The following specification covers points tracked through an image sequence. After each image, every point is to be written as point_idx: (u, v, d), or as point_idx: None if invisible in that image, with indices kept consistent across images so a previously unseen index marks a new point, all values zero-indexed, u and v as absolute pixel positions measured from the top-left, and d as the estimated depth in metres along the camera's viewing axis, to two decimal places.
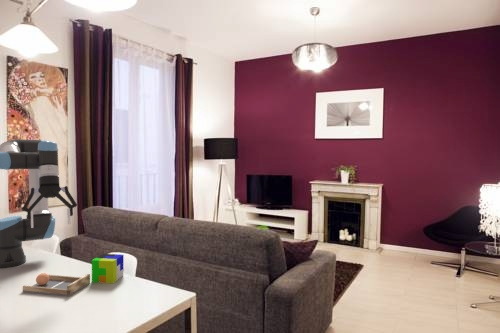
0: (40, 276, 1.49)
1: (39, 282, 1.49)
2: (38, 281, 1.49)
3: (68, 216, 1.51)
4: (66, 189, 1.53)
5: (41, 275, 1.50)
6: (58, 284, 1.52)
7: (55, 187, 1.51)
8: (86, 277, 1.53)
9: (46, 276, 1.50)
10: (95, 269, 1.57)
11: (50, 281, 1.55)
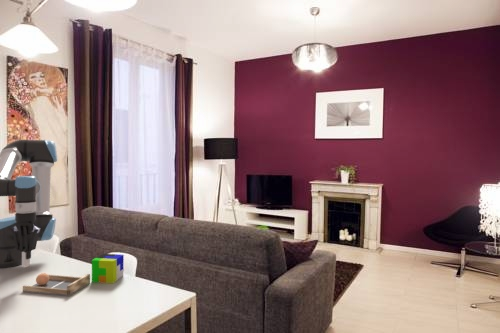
0: (40, 276, 1.49)
1: (39, 282, 1.49)
2: (38, 281, 1.49)
3: (23, 260, 1.50)
4: (34, 232, 1.49)
5: (41, 275, 1.50)
6: (58, 284, 1.52)
7: (29, 223, 1.50)
8: (86, 277, 1.53)
9: (46, 276, 1.50)
10: (95, 269, 1.57)
11: (50, 281, 1.55)
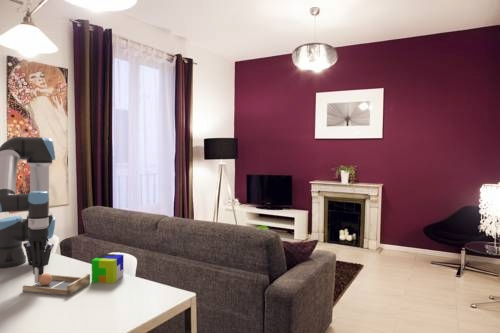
0: (45, 277, 1.49)
1: (41, 283, 1.48)
2: (41, 281, 1.48)
3: (36, 275, 1.50)
4: (47, 248, 1.48)
5: (46, 277, 1.49)
6: (58, 284, 1.52)
7: (42, 239, 1.49)
8: (86, 277, 1.53)
9: (50, 279, 1.50)
10: (95, 269, 1.57)
11: None
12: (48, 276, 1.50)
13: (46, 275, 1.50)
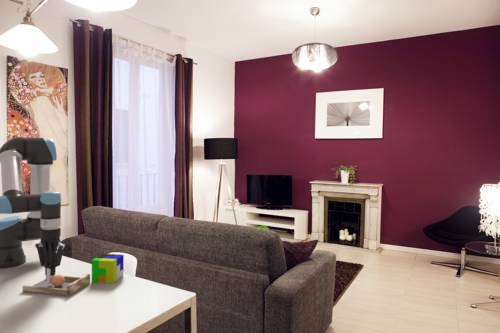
0: (57, 285, 1.48)
1: (52, 282, 1.48)
2: (53, 282, 1.47)
3: (48, 276, 1.49)
4: (59, 248, 1.48)
5: (58, 286, 1.49)
6: None
7: (54, 239, 1.48)
8: (86, 277, 1.53)
9: None
10: (95, 269, 1.57)
11: None
12: None
13: (60, 285, 1.49)
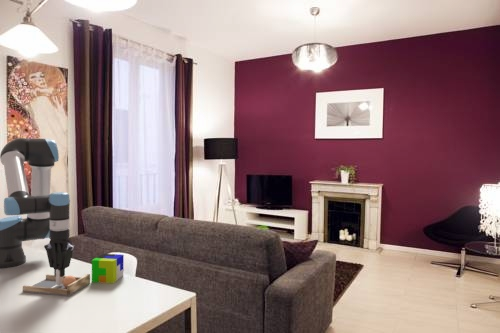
0: None
1: (66, 283, 1.46)
2: (65, 284, 1.46)
3: (57, 277, 1.48)
4: (68, 249, 1.47)
5: None
6: None
7: (63, 241, 1.48)
8: (86, 277, 1.53)
9: (65, 277, 1.49)
10: (95, 269, 1.57)
11: (50, 281, 1.55)
12: None
13: None
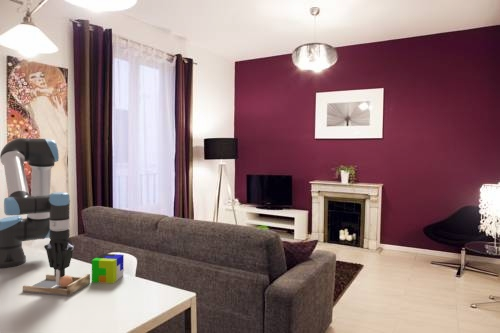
0: (60, 285, 1.48)
1: (62, 282, 1.47)
2: (62, 283, 1.47)
3: (57, 277, 1.48)
4: (68, 249, 1.47)
5: None
6: None
7: (63, 241, 1.48)
8: (86, 277, 1.53)
9: None
10: (95, 269, 1.57)
11: (50, 281, 1.55)
12: None
13: None
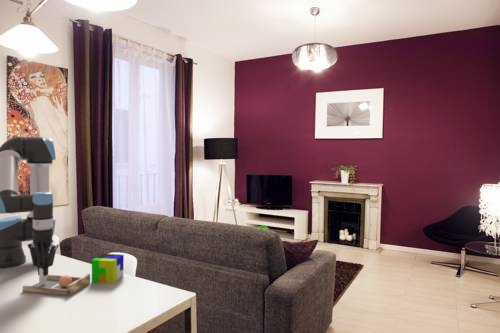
0: None
1: (61, 282, 1.47)
2: (61, 283, 1.47)
3: (41, 276, 1.50)
4: (52, 248, 1.49)
5: None
6: (58, 284, 1.52)
7: (47, 240, 1.49)
8: (86, 277, 1.53)
9: None
10: (95, 269, 1.57)
11: (50, 281, 1.55)
12: None
13: None
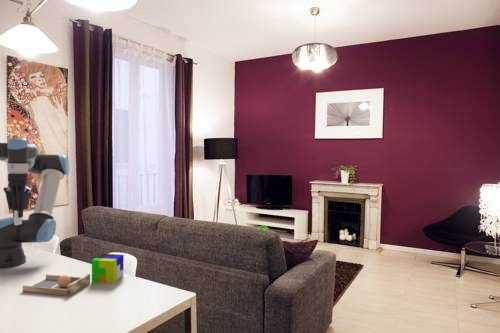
0: (59, 285, 1.48)
1: (60, 281, 1.47)
2: (60, 282, 1.47)
3: (15, 218, 1.58)
4: (26, 191, 1.57)
5: (59, 285, 1.48)
6: None
7: (21, 183, 1.57)
8: (86, 277, 1.53)
9: None
10: (95, 269, 1.57)
11: (50, 281, 1.55)
12: None
13: None
